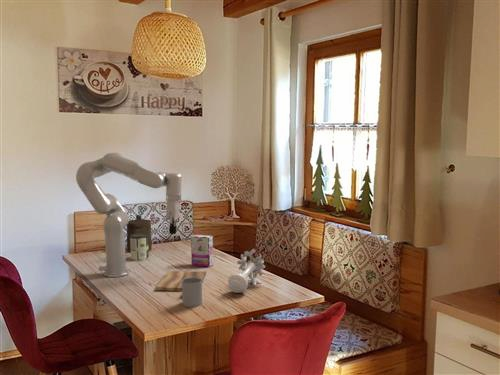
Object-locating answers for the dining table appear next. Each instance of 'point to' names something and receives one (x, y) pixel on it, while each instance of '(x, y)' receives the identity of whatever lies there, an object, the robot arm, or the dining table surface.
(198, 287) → the cup
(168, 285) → the plank
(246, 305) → the dining table surface
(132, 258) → the coffee can
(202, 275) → the laid board
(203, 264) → the candy bar box
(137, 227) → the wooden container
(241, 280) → the flower vase
